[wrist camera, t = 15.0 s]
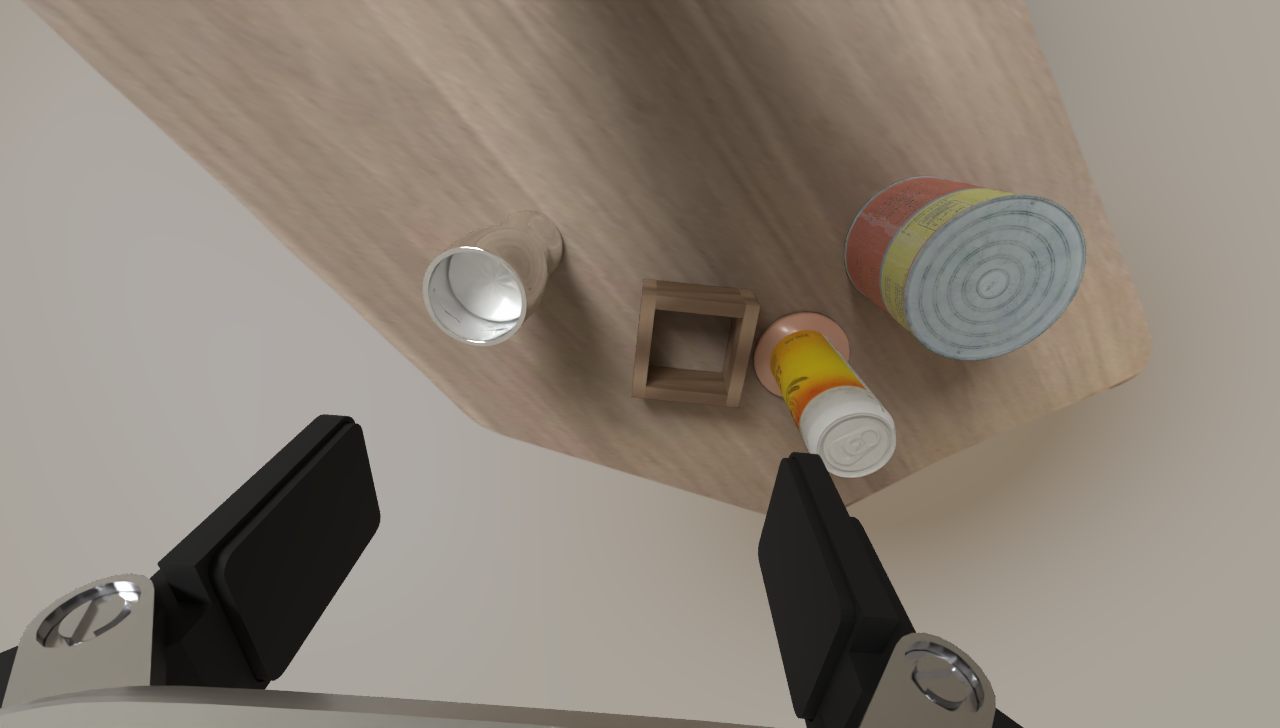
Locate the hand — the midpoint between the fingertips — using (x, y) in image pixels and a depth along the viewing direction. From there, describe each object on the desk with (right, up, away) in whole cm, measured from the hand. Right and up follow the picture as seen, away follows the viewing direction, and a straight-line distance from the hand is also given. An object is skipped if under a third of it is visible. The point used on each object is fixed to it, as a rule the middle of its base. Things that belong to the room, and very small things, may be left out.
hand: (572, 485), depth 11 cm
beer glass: (-8, +14, +33) cm, 37 cm away
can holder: (+6, +6, +37) cm, 38 cm away
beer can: (+17, +4, +37) cm, 40 cm away
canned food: (+25, +13, +32) cm, 43 cm away
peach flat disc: (+17, +4, +37) cm, 41 cm away
